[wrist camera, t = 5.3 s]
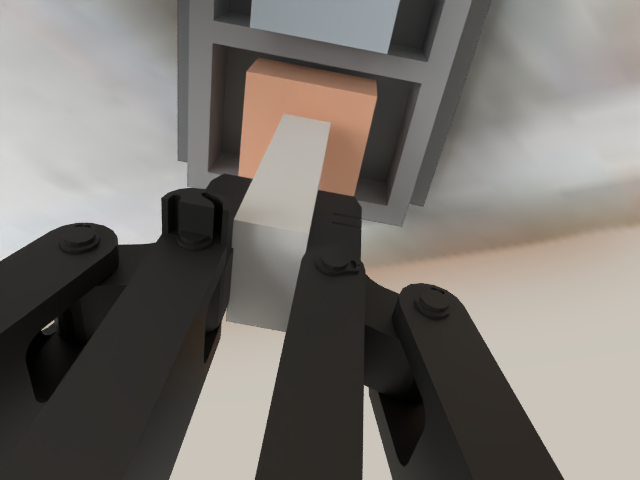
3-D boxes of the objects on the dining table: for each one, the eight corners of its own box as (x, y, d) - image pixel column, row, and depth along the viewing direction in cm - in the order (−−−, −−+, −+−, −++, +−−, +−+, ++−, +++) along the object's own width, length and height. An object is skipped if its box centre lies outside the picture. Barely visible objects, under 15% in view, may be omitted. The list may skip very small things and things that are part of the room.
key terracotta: (248, 166, 19) (237, 188, 17) (258, 57, 17) (246, 71, 15) (352, 185, 19) (350, 210, 17) (376, 80, 17) (377, 96, 15)
